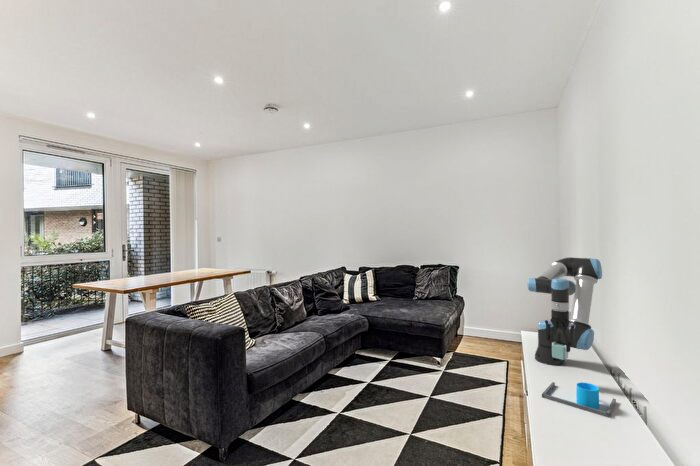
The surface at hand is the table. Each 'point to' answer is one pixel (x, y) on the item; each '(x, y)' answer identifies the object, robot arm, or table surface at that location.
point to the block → (558, 351)
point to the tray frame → (607, 414)
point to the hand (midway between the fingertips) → (560, 356)
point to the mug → (588, 395)
